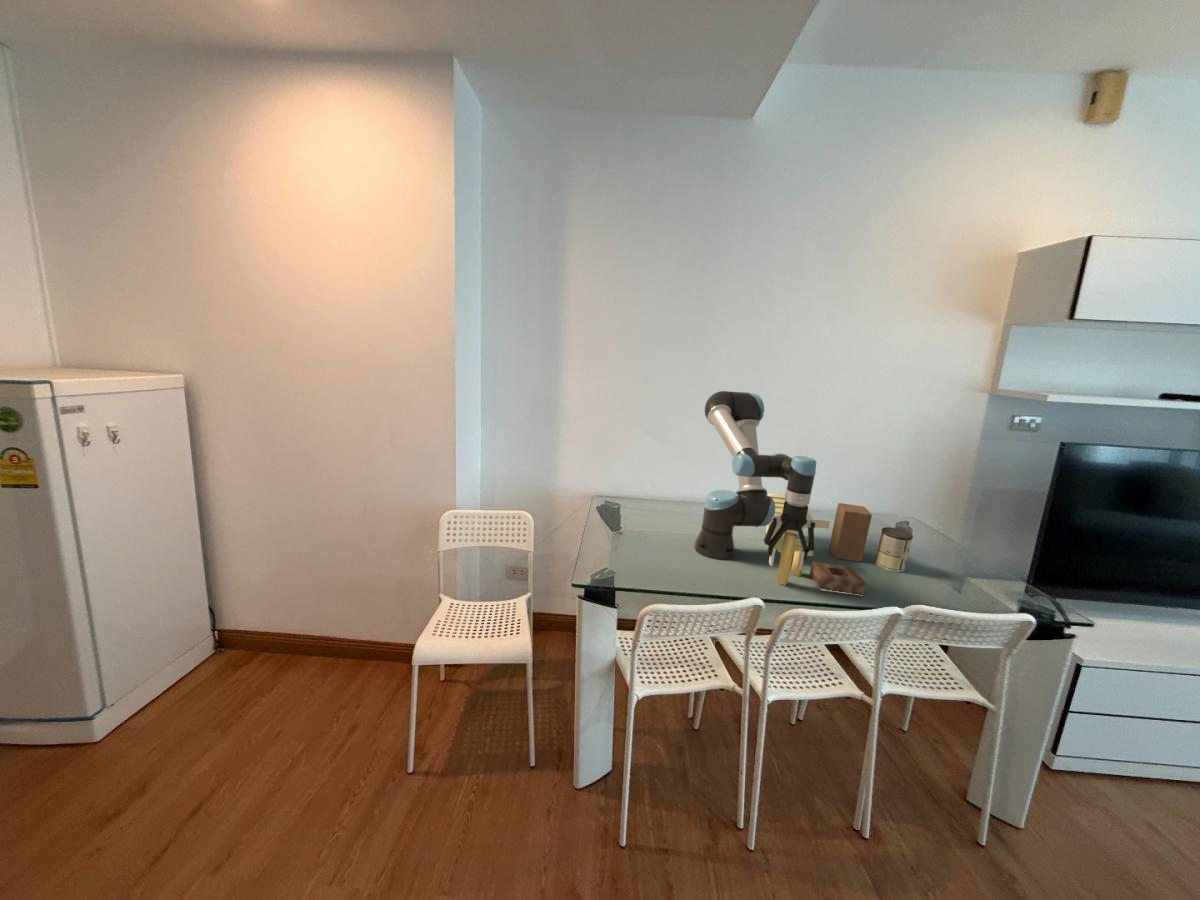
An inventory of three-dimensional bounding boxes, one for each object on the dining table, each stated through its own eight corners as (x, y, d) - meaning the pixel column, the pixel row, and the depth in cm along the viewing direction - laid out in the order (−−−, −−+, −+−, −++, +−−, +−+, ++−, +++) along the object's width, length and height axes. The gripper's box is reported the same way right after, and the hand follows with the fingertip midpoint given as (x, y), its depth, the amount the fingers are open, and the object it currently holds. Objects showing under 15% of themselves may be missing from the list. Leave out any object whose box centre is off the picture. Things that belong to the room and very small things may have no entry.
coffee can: (872, 558, 199) (879, 525, 196) (901, 563, 196) (909, 530, 193) (877, 568, 190) (885, 533, 187) (907, 574, 187) (916, 539, 183)
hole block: (819, 590, 167) (822, 577, 166) (809, 574, 179) (812, 561, 178) (863, 596, 166) (866, 582, 165) (849, 579, 178) (852, 567, 177)
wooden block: (861, 562, 194) (872, 514, 189) (834, 558, 195) (844, 510, 191) (854, 552, 203) (864, 506, 199) (828, 548, 205) (837, 502, 201)
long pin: (777, 584, 169) (786, 535, 165) (775, 579, 172) (784, 531, 168) (788, 586, 169) (797, 536, 165) (785, 581, 172) (795, 532, 168)
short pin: (791, 575, 177) (796, 554, 175) (789, 570, 181) (793, 550, 179) (802, 576, 177) (806, 556, 175) (799, 572, 180) (803, 551, 178)
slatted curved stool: (758, 531, 218) (765, 492, 214) (795, 535, 217) (803, 496, 213) (778, 560, 188) (786, 516, 184) (820, 565, 188) (829, 521, 184)
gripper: (765, 502, 162) (754, 566, 167) (834, 511, 159) (820, 575, 164) (761, 495, 169) (750, 557, 174) (826, 503, 167) (814, 565, 172)
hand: (784, 566), depth 169 cm, fingers open, 9 cm apart
